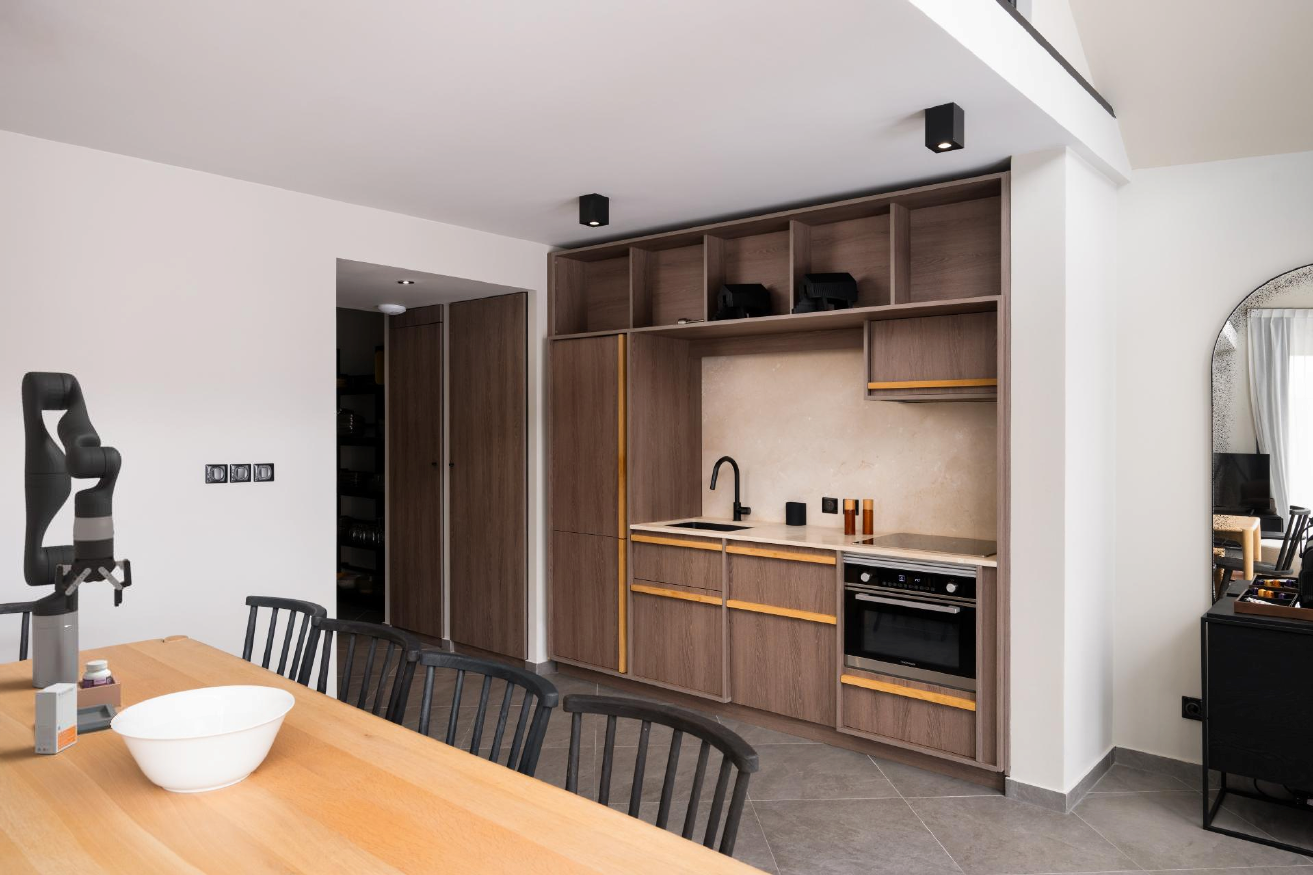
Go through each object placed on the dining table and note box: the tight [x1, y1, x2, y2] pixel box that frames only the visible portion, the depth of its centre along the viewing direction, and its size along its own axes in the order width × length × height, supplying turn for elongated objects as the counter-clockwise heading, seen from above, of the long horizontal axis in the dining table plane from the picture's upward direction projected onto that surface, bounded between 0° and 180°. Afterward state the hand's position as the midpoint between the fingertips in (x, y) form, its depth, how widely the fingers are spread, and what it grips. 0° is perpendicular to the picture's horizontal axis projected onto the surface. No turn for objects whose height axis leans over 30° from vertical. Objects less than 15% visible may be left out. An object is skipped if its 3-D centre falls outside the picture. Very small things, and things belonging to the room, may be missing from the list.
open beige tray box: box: [73, 674, 122, 708], centre depth 192 cm, size 8×8×5 cm
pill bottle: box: [82, 659, 112, 689], centre depth 192 cm, size 5×5×10 cm
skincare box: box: [34, 683, 78, 755], centre depth 167 cm, size 6×4×12 cm
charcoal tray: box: [77, 702, 118, 736], centre depth 180 cm, size 12×12×2 cm
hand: (93, 608), depth 191 cm, fingers open, 8 cm apart
